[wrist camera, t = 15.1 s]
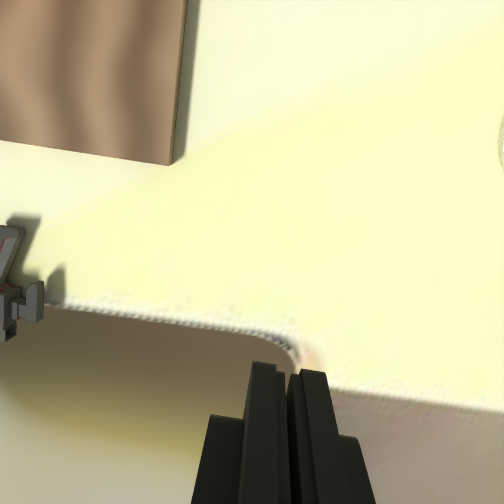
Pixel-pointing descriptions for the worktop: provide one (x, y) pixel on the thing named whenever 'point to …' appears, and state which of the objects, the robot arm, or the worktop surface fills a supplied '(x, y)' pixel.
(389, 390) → the worktop surface
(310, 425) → the robot arm
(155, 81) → the board
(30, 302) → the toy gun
